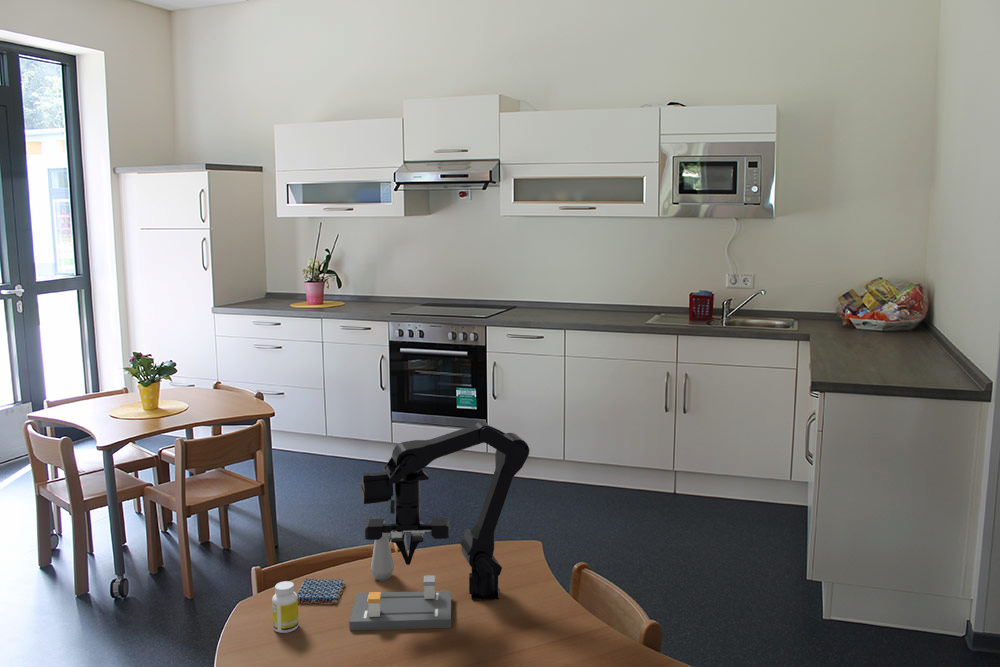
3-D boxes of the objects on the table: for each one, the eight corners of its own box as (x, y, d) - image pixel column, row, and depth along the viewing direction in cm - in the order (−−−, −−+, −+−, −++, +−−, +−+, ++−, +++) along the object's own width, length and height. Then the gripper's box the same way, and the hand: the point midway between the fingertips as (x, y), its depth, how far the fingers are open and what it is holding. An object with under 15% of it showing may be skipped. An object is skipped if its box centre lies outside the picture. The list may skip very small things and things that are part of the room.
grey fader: (435, 592, 188) (435, 575, 187) (435, 598, 184) (434, 581, 184) (424, 592, 187) (423, 575, 187) (423, 599, 184) (423, 582, 184)
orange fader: (381, 609, 180) (381, 591, 179) (380, 616, 176) (379, 598, 176) (369, 609, 179) (369, 592, 179) (368, 617, 176) (367, 599, 176)
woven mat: (346, 585, 197) (346, 577, 196) (337, 607, 186) (336, 598, 186) (304, 584, 197) (304, 576, 196) (292, 606, 186) (291, 598, 186)
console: (451, 598, 189) (451, 590, 189) (450, 627, 176) (450, 619, 176) (356, 600, 188) (356, 592, 187) (349, 630, 175) (349, 621, 175)
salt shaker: (396, 572, 202) (395, 523, 200) (391, 582, 197) (390, 532, 195) (373, 571, 203) (372, 522, 201) (368, 581, 197) (366, 531, 195)
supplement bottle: (303, 623, 178) (302, 581, 176) (289, 635, 173) (288, 593, 171) (282, 619, 180) (281, 577, 178) (268, 631, 174) (266, 588, 173)
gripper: (449, 485, 190) (449, 548, 192) (369, 486, 189) (370, 549, 191) (448, 503, 179) (449, 569, 181) (364, 504, 178) (365, 570, 180)
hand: (408, 564), depth 184 cm, fingers closed
